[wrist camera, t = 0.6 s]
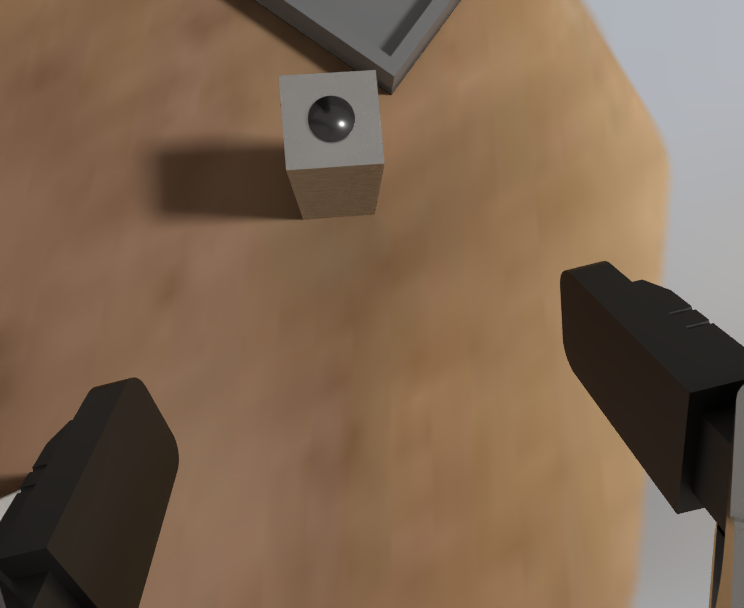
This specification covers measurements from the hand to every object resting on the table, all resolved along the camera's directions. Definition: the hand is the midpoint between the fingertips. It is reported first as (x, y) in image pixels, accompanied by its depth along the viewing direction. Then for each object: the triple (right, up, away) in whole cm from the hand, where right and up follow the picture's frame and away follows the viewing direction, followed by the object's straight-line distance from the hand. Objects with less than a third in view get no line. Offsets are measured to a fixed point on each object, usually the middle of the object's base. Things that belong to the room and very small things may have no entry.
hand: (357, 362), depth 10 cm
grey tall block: (-2, +10, +27) cm, 29 cm away
